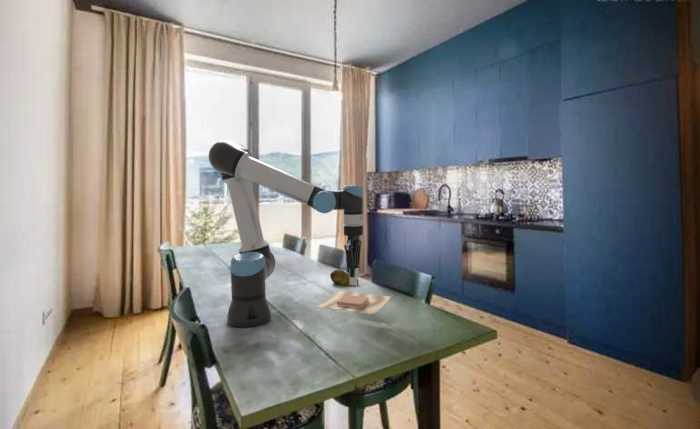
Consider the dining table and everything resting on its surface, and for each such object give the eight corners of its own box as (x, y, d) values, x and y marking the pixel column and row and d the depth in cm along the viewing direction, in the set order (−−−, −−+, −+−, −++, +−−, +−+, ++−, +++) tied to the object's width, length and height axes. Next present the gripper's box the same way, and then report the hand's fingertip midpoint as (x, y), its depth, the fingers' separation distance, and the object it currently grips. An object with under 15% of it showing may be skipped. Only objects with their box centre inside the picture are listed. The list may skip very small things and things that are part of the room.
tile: (345, 298, 147) (336, 305, 139) (345, 294, 147) (336, 301, 138) (368, 301, 143) (361, 308, 135) (368, 297, 143) (361, 304, 135)
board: (315, 310, 138) (315, 306, 137) (338, 294, 158) (338, 290, 158) (375, 318, 129) (375, 314, 129) (391, 300, 149) (391, 296, 149)
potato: (352, 291, 162) (352, 273, 162) (327, 287, 168) (327, 270, 167) (360, 286, 170) (360, 269, 169) (336, 283, 175) (336, 267, 175)
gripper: (356, 227, 132) (356, 290, 133) (367, 223, 144) (367, 281, 146) (337, 226, 134) (338, 288, 136) (350, 223, 146) (350, 279, 148)
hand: (353, 284), depth 141 cm, fingers closed
